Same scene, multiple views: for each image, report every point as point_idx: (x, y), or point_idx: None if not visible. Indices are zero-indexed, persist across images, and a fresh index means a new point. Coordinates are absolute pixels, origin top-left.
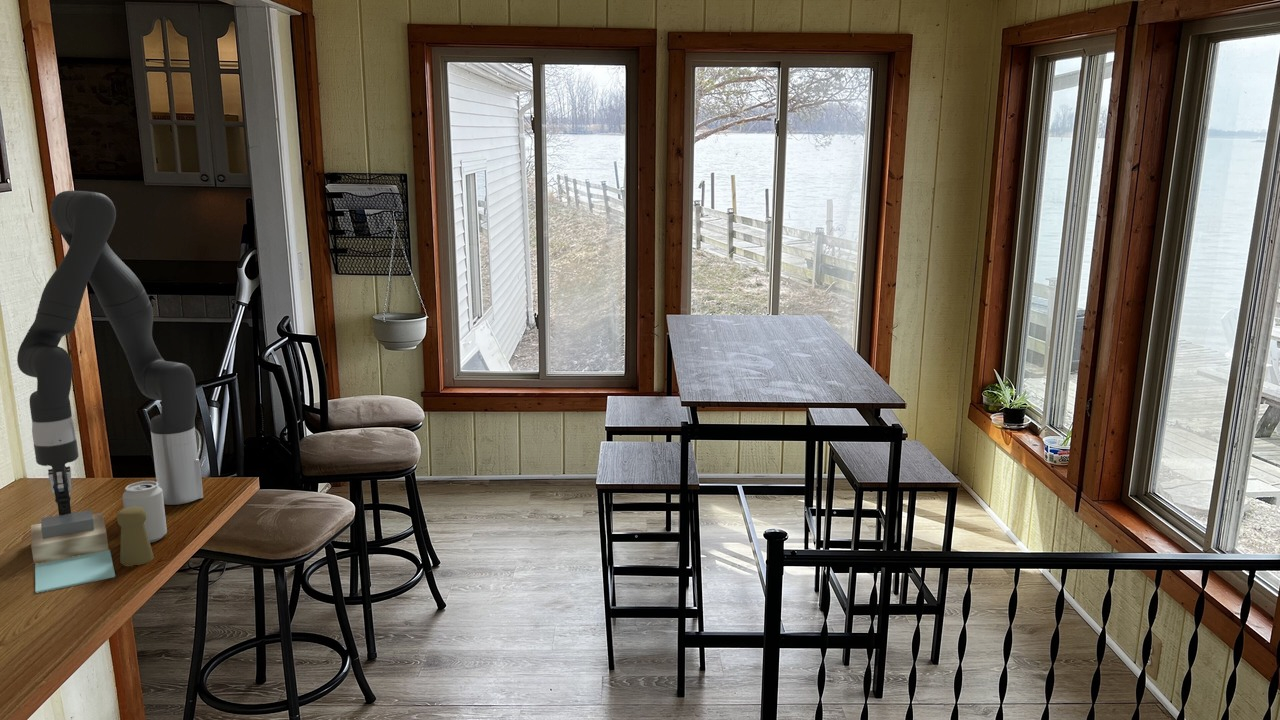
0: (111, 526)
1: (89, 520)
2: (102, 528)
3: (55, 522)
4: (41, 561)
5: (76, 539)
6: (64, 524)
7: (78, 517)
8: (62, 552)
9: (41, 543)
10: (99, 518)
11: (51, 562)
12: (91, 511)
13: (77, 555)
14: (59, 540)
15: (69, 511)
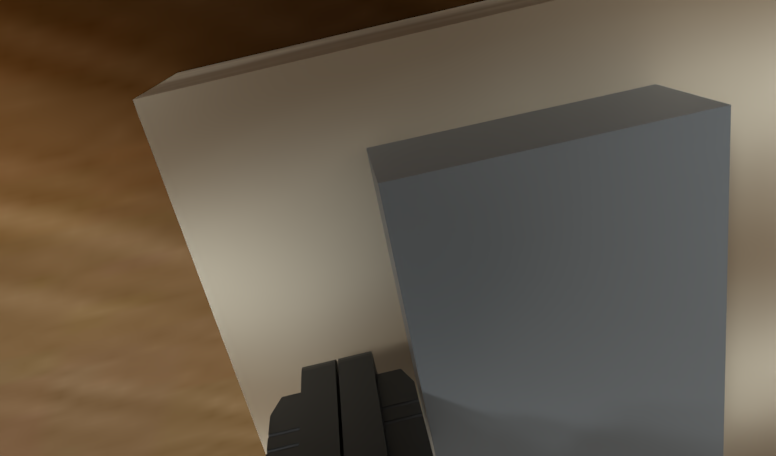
0: (96, 27)
1: (721, 137)
2: (655, 6)
3: (639, 436)
4: None
5: None
6: (722, 351)
7: (591, 270)
8: None
9: (755, 415)
10: (326, 94)
11: None
12: (442, 173)
13: None
14: (763, 314)
15: (379, 398)
